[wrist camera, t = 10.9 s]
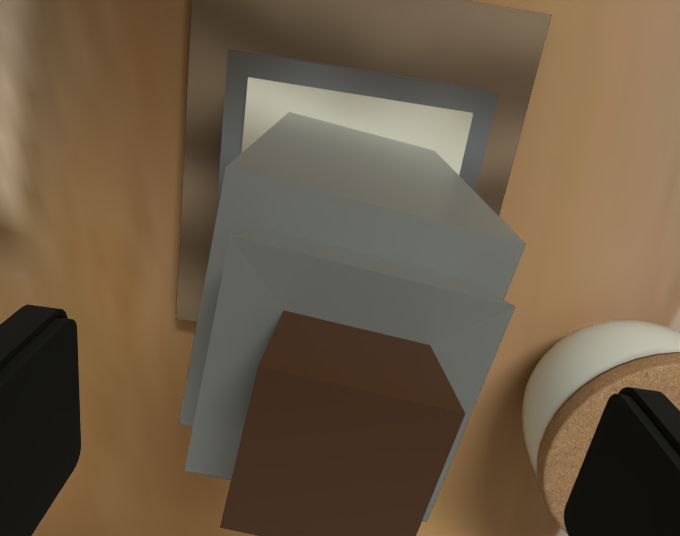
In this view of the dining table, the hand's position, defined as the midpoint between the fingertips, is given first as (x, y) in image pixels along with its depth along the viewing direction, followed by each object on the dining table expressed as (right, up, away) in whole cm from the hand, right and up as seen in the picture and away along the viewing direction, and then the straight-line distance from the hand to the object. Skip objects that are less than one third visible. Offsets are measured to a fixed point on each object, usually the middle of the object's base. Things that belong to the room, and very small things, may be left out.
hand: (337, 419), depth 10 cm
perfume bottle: (0, +6, +16) cm, 17 cm away
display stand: (0, +8, +22) cm, 24 cm away
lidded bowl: (+17, -4, +27) cm, 32 cm away
